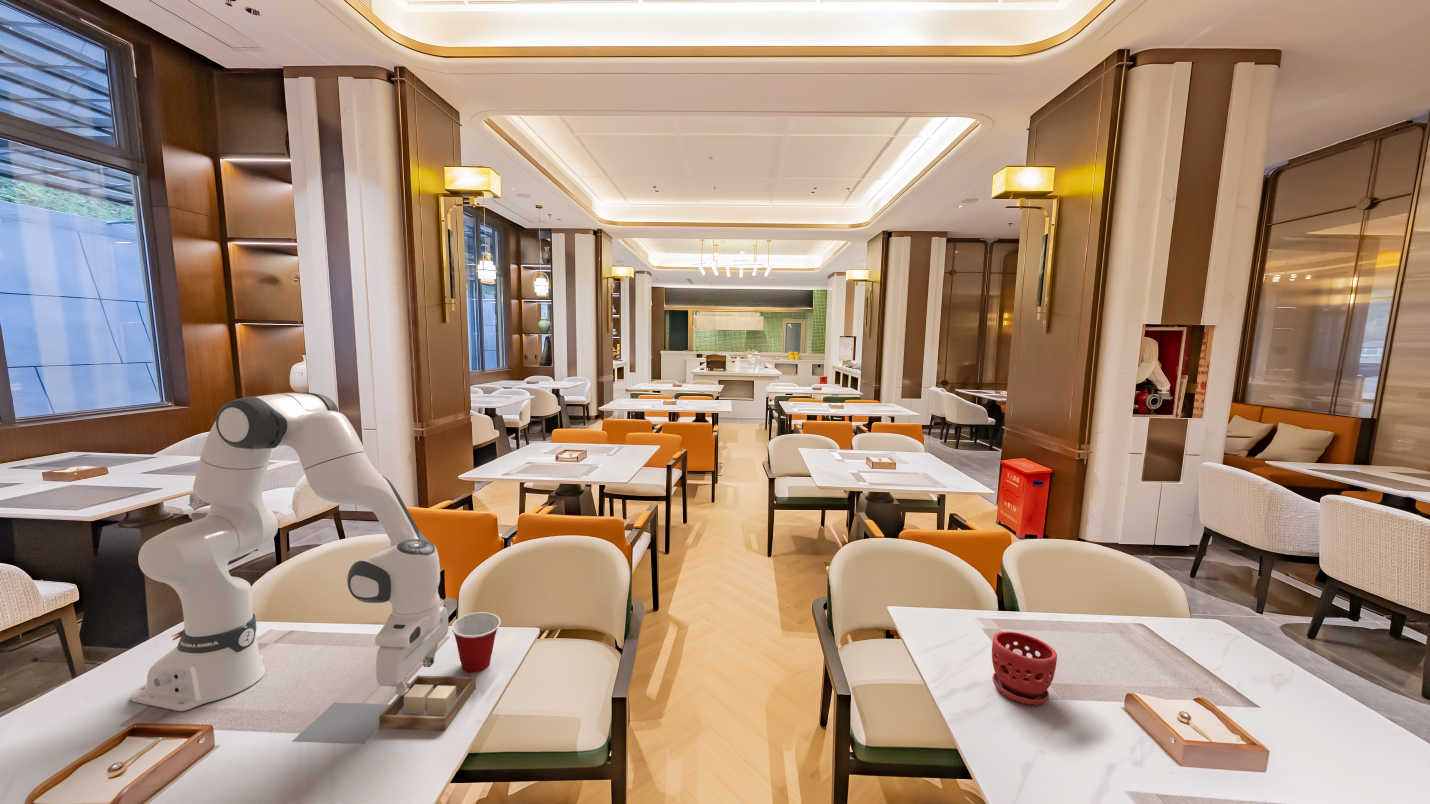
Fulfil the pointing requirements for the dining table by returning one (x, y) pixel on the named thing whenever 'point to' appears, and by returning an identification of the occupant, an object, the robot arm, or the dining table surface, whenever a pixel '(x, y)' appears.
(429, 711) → the beige block
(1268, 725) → the dining table surface
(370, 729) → the slate board
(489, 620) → the plastic cup
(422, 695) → the cream wooden cube
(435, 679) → the walnut bin
